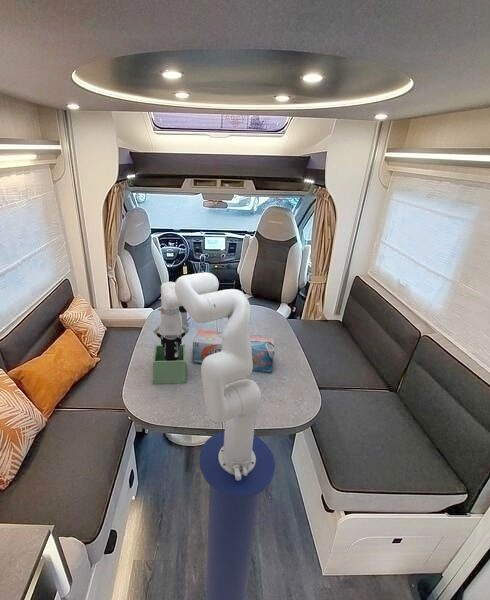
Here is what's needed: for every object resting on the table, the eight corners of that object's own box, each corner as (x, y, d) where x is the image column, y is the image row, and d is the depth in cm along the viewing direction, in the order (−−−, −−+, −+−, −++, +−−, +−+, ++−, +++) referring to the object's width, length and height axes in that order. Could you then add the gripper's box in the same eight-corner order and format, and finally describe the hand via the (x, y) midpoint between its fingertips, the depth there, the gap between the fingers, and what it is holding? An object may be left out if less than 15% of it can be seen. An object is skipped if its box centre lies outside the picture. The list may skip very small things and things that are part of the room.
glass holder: (172, 322, 201) (172, 301, 195) (194, 320, 205) (194, 299, 199) (175, 328, 193) (174, 306, 187) (197, 326, 197) (197, 304, 191)
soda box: (191, 363, 159) (191, 341, 154) (197, 349, 172) (197, 328, 167) (272, 373, 153) (275, 351, 148) (272, 358, 166) (274, 336, 161)
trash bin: (185, 382, 145) (185, 361, 141) (153, 383, 144) (152, 362, 140) (185, 364, 159) (184, 344, 154) (156, 365, 158) (155, 345, 153)
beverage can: (172, 364, 142) (171, 341, 137) (161, 358, 145) (160, 336, 140) (181, 357, 146) (181, 335, 142) (171, 352, 150) (170, 330, 145)
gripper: (149, 314, 132) (151, 350, 139) (190, 313, 133) (190, 349, 140) (151, 306, 139) (153, 341, 146) (190, 306, 140) (190, 340, 147)
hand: (171, 345), depth 143 cm, fingers closed on beverage can, 6 cm apart
